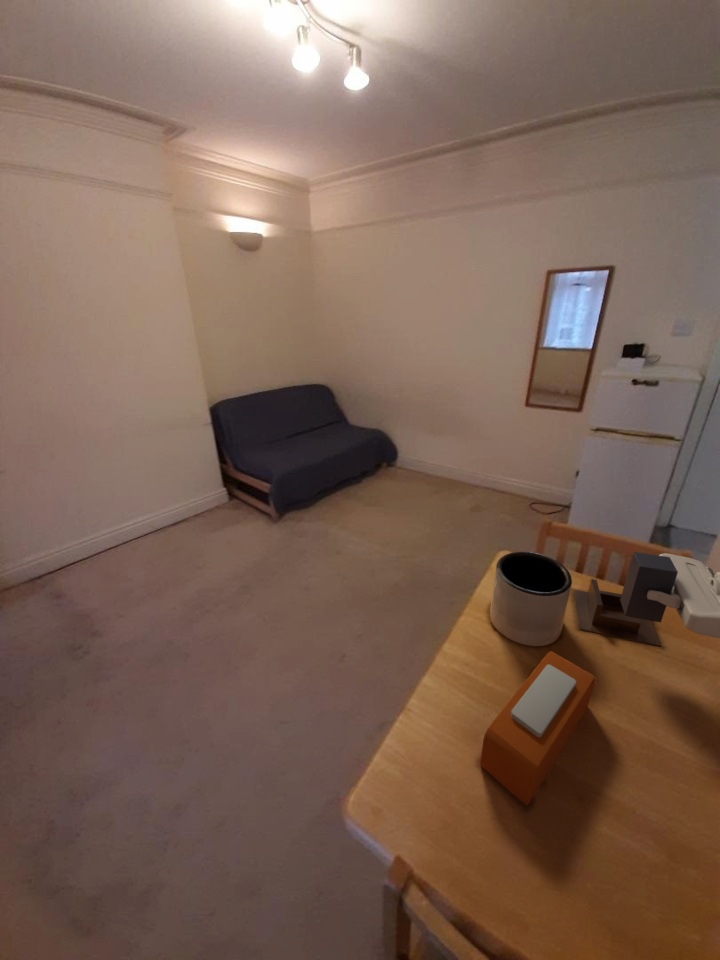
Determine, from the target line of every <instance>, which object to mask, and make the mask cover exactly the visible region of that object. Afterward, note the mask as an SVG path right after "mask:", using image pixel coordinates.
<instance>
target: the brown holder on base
mask: <svg viewBox="0 0 720 960" xmlns="http://www.w3.org/2000/svg"><path fill="white" fill-rule="evenodd" d="M572 593H573V598H574V599H573V600H574V605H575V606H574V607H575V613H576V616H577V617H576V618H577V619H576V620H577V623H578V625H577V626H578V630H580V631H584V632H589V633H594V634H599V635H603V636H607V637H613V638H617V639H622V640H627V641H632V642H636V643H641V644H642V643H643V644H646V645H649V646H656V647H660V648H661V647H662V644H661V642H660V641H661V640H660V638H659V636H658V633H657V630H656V627H655V625H654V621H650V620H645V619H639V618H634V617H629V616H625V613H624V610H623V607H622V604H621V601H620V599H621V595H622V593H618V592H611V591H605V590H601V589H600V587H599V583H598V579H595V578H591V579H590V583H589V587H588V591H582V590H579V589H578V590H577V589H573V590H572Z"/></svg>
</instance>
